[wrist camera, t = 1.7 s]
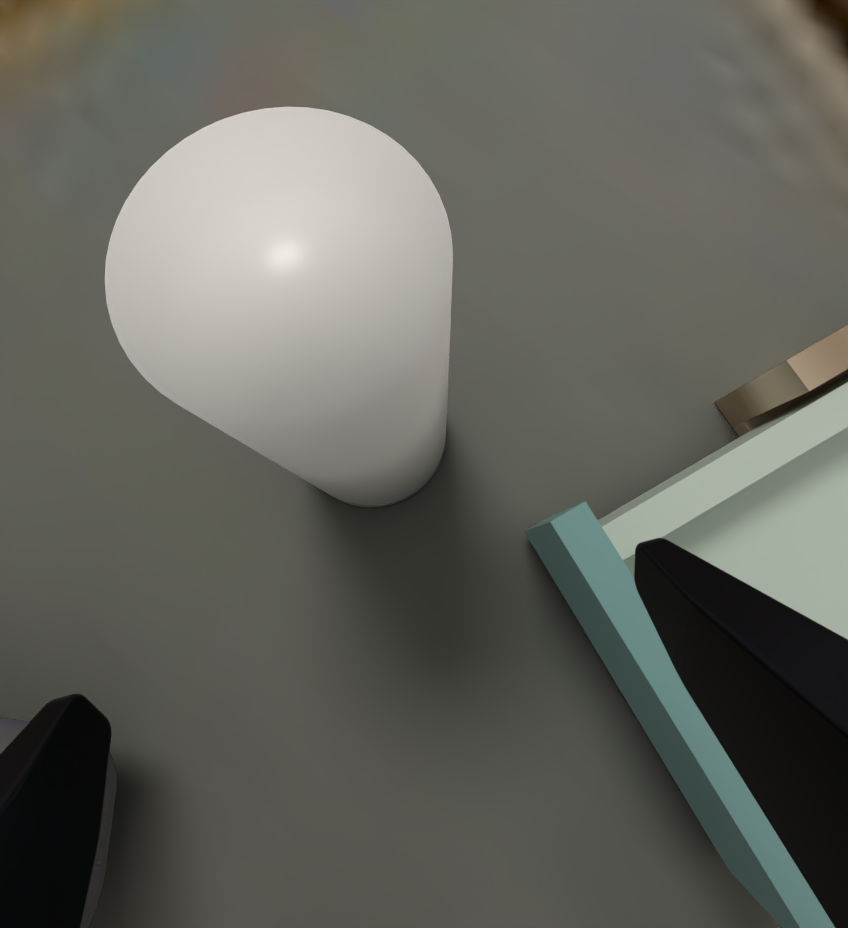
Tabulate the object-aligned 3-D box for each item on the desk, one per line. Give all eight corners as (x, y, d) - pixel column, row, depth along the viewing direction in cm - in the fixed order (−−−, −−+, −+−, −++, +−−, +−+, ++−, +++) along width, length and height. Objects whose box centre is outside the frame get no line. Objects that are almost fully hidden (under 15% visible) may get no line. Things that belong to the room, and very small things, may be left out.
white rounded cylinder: (343, 535, 21) (194, 495, 8) (275, 409, 22) (52, 204, 9) (473, 461, 22) (519, 316, 9) (401, 340, 23) (348, 53, 10)
